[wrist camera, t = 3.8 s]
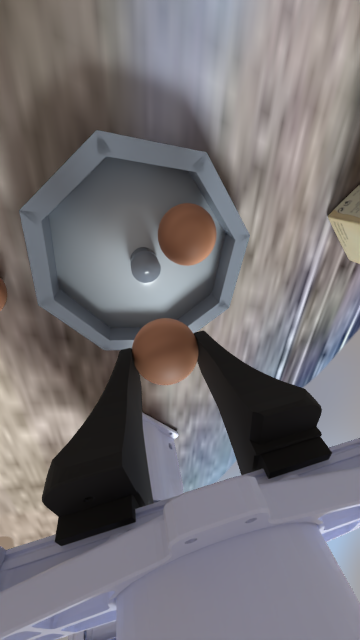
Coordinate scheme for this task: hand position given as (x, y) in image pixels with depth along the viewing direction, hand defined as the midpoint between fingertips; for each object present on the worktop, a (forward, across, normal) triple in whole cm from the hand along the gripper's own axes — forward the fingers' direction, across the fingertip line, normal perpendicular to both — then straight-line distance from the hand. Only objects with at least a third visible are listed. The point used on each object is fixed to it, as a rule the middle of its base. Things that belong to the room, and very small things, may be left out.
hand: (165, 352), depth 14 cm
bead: (0, 0, 0) cm, 1 cm away
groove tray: (+7, 0, -4) cm, 8 cm away
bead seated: (+5, -3, -5) cm, 8 cm away
